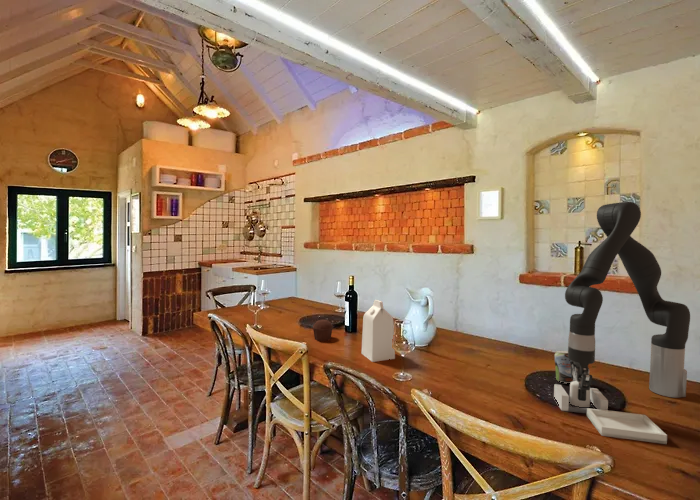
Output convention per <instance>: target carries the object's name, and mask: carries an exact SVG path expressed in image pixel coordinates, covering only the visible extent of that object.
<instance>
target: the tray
mask: <svg viewBox="0 0 700 500" xmlns="http://www.w3.org/2000/svg"><path fill="white" fill-rule="evenodd" d="M586 417H587V418H588V419H589V420H590V422H591V424H592V425H593V426H594V428H595V429H596V430H597V431H598V433H599V434H600V436H603V437H611V438H617V439H626V440H633V441H641V442H645V443H646V442H649V443H654V444H660V445H667V443H668V434H666V432H664V431H663V430H662V429H661V428H660V427H659V426H658V425H657V424H655V423H654V421H652V419H650V417H648V416H647V415H646V414H640V413H633V412H632V413H631V412H624V411H615V410H599V409H595V408H587V413H586Z"/></svg>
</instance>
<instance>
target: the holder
mask: <svg viewBox="0 0 700 500" xmlns="http://www.w3.org/2000/svg"><path fill="white" fill-rule="evenodd" d="M554 397H555V399H556V400H557V402H558V404H559V406H558V408H559V409H560V410H561V411H563V412H571V413H573V412H574V413H580V414H587V408H579V407H572V406H571V405H570V403H569V399H570V395H569V394H568V393H567V391H566V390H565V388H564V387H563V386H562V384H557V383H555V384H554V386H553V398H554ZM555 399H554V400H555ZM557 402H556V403H557ZM590 402H592V403H593V405H594V406H595V407H596V408H597V409H599V410H608V409H609V408H608V407H609V400H608V398H606V396H605V395H603V393H602V392H601V391H600V390H599V389H598V388H594V387H590ZM558 404H557V405H558ZM608 411H609V410H608Z"/></svg>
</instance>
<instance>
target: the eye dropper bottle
mask: <svg viewBox="0 0 700 500" xmlns="http://www.w3.org/2000/svg"><path fill="white" fill-rule="evenodd" d="M579 379H582V378H579ZM583 386H585V385H583ZM569 397H570V399H569V402H570V403H569V405H570V404H572V405H575V406H579V407H591V404H590V390H586V401H580V400H579V399H578V381H573V382H571V383H570V384H569Z"/></svg>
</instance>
